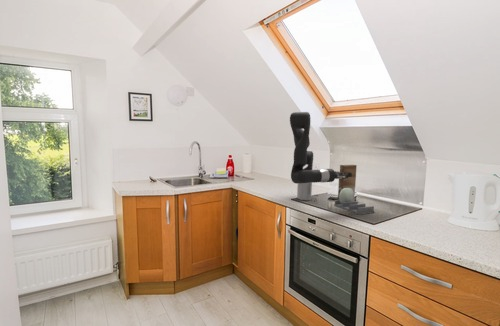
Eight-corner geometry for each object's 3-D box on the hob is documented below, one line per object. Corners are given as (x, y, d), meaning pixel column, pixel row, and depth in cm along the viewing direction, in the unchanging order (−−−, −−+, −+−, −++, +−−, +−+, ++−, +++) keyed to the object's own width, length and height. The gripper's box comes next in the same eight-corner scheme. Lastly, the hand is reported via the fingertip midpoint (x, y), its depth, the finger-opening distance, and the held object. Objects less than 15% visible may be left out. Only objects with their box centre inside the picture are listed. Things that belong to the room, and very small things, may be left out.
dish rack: (334, 205, 179) (334, 200, 179) (348, 203, 184) (349, 198, 183) (358, 214, 160) (358, 208, 160) (374, 212, 165) (374, 206, 164)
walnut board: (338, 186, 166) (340, 165, 164) (351, 186, 169) (352, 164, 168) (343, 188, 162) (344, 165, 161) (355, 187, 166) (356, 165, 164)
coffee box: (354, 201, 191) (355, 177, 189) (349, 202, 186) (350, 178, 185) (342, 198, 197) (343, 176, 196) (337, 200, 193) (338, 176, 191)
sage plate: (338, 205, 176) (339, 187, 175) (352, 203, 180) (353, 186, 179) (339, 205, 175) (340, 188, 174) (353, 204, 179) (354, 187, 178)
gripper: (333, 170, 152) (358, 169, 158) (317, 167, 165) (341, 166, 171) (332, 184, 153) (357, 182, 159) (317, 180, 166) (340, 178, 172)
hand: (348, 174), depth 165 cm, fingers closed on walnut board, 3 cm apart
